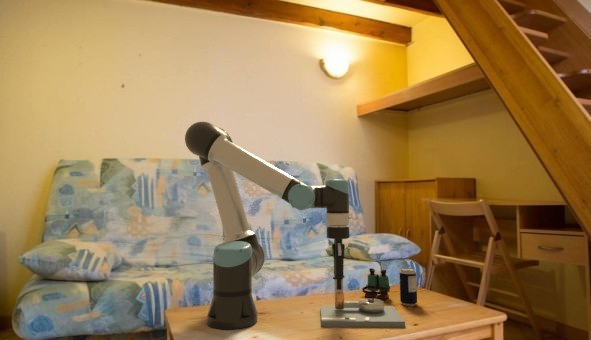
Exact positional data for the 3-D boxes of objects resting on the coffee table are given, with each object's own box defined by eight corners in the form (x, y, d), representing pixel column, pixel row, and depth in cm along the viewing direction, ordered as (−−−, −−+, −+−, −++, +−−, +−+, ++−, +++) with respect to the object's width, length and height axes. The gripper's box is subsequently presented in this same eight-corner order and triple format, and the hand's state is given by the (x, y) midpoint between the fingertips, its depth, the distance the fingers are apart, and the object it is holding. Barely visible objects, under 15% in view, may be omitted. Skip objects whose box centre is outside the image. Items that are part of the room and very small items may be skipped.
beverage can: (415, 302, 136) (414, 268, 137) (418, 306, 131) (417, 270, 132) (399, 301, 137) (398, 267, 138) (401, 306, 131) (400, 270, 132)
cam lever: (381, 305, 125) (381, 290, 126) (386, 313, 117) (385, 296, 118) (334, 305, 126) (333, 290, 126) (335, 313, 118) (335, 296, 119)
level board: (321, 326, 111) (321, 319, 111) (320, 310, 127) (320, 303, 127) (405, 326, 110) (405, 319, 110) (393, 310, 126) (393, 304, 126)
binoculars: (358, 273, 140) (368, 266, 148) (360, 302, 140) (370, 293, 148) (382, 276, 135) (391, 268, 143) (384, 305, 135) (393, 296, 143)
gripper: (351, 227, 120) (352, 304, 118) (347, 224, 133) (348, 294, 131) (327, 227, 120) (328, 304, 119) (325, 224, 133) (326, 293, 132)
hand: (338, 298), depth 125 cm, fingers closed
